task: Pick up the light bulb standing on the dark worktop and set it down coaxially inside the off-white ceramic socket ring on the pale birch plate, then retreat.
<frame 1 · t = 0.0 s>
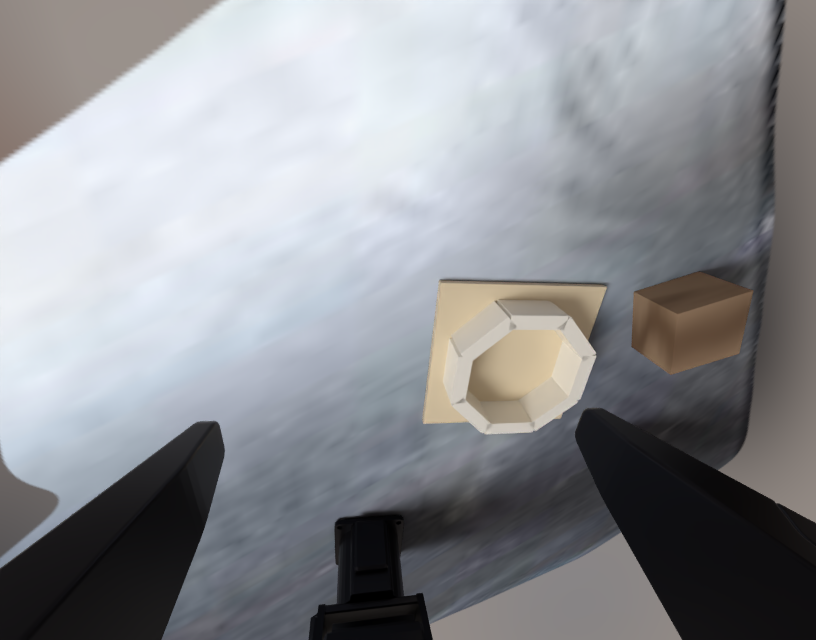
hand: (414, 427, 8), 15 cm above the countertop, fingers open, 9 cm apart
socket: (506, 356, 26), on the countertop
walnut block: (662, 309, 26), on the countertop
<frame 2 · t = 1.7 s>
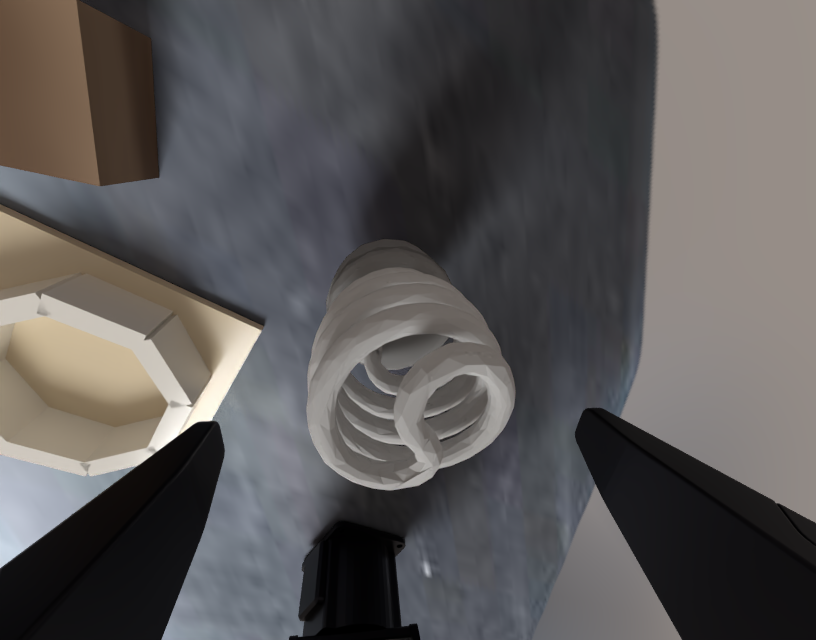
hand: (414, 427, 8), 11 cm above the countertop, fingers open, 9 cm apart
socket: (108, 361, 18), on the countertop
walnut block: (85, 95, 13), on the countertop
light bulb: (384, 272, 18), on the countertop
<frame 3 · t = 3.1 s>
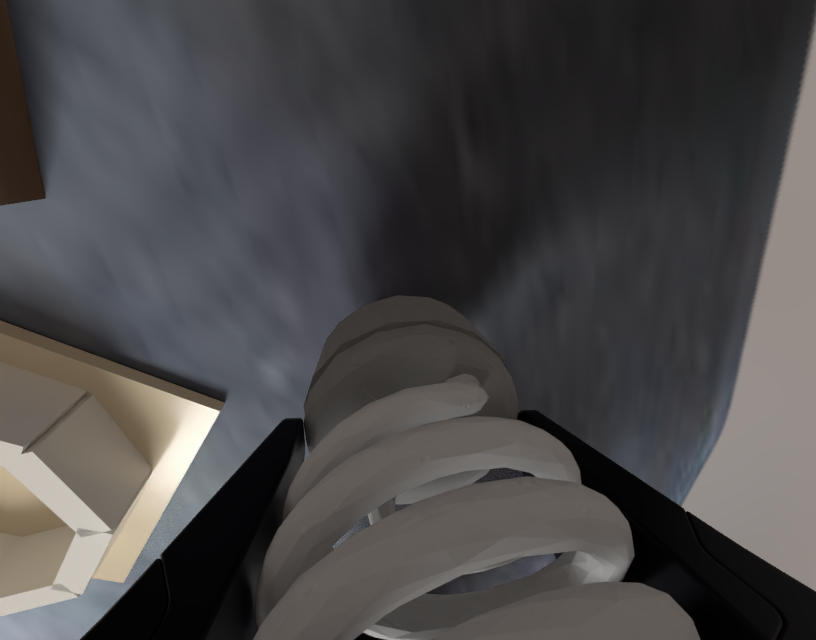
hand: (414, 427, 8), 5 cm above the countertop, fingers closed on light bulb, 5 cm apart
socket: (3, 454, 13), on the countertop
light bulb: (394, 327, 13), on the countertop, touching gripper
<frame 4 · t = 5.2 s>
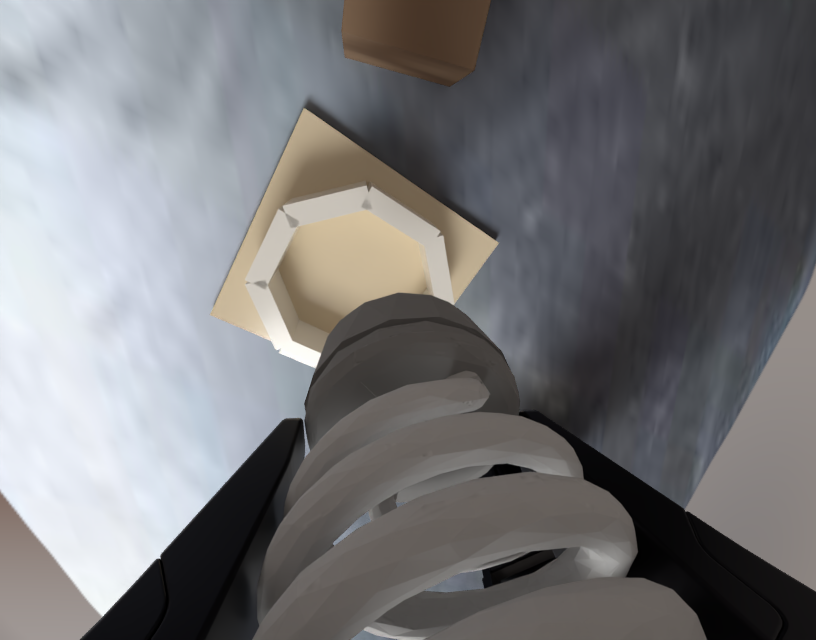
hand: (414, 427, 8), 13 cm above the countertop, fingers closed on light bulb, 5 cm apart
socket: (355, 275, 20), on the countertop
walnut block: (409, 5, 15), on the countertop
light bulb: (394, 326, 13), point 8 cm above the countertop, touching gripper
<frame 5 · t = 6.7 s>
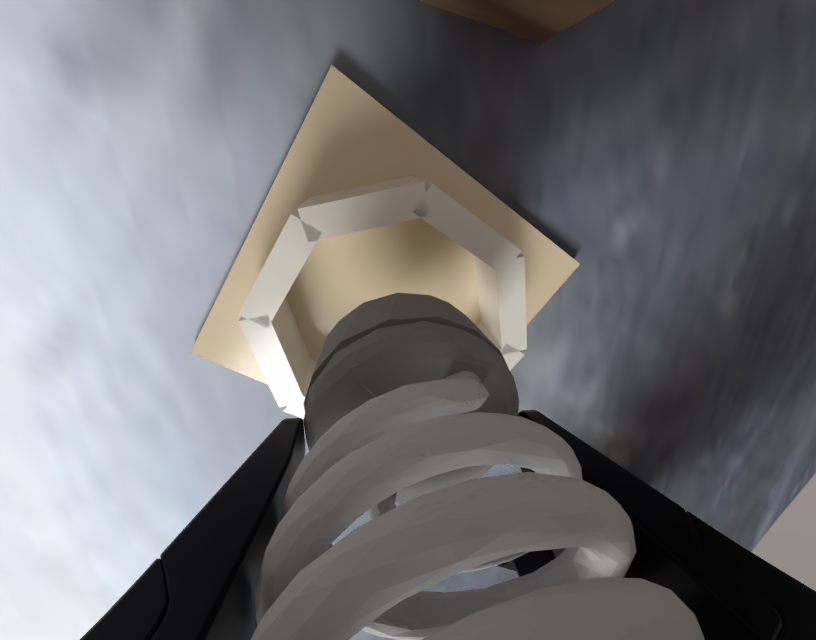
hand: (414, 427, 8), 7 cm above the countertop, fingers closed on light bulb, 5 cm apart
socket: (387, 302, 15), on the countertop
light bulb: (394, 326, 13), point 2 cm above the countertop, touching gripper
when the fingers open (7 cm above the countertop, at t = 7.2 s): light bulb drops 2 cm, resting on socket.
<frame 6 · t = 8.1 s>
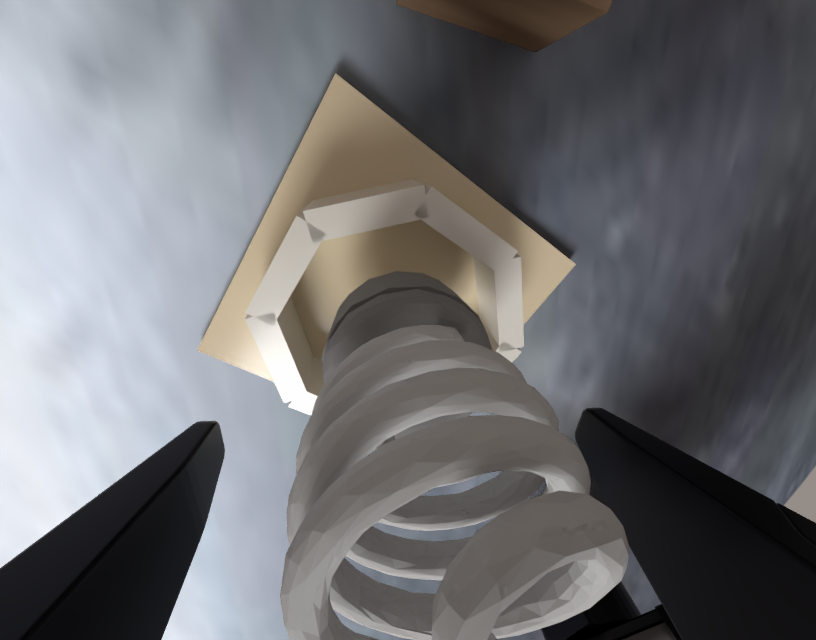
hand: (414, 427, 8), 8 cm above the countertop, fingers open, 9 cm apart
socket: (389, 302, 15), on the countertop
light bulb: (394, 305, 15), resting on socket
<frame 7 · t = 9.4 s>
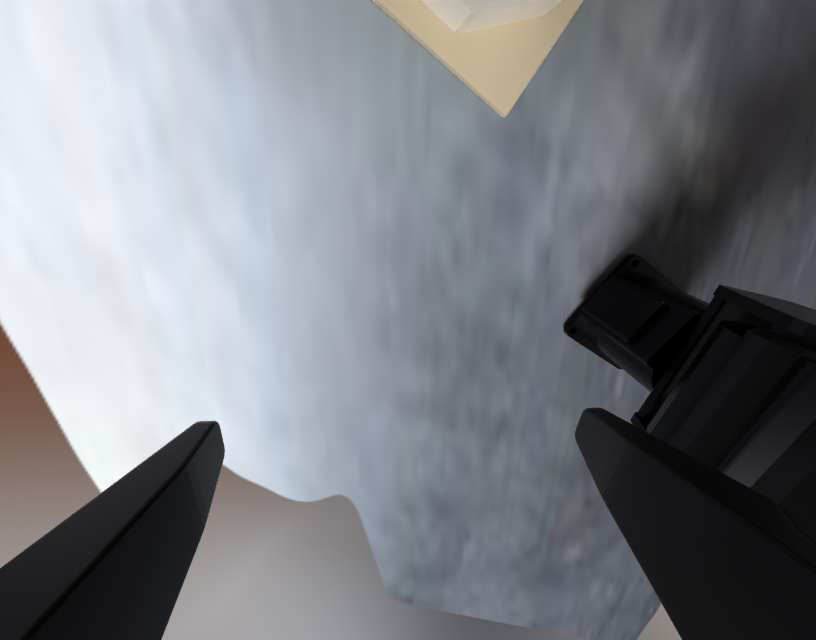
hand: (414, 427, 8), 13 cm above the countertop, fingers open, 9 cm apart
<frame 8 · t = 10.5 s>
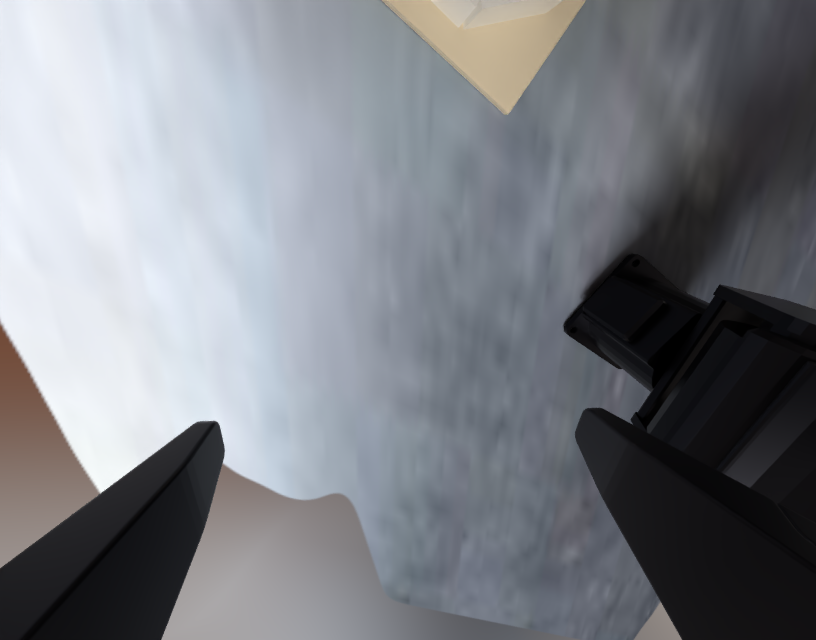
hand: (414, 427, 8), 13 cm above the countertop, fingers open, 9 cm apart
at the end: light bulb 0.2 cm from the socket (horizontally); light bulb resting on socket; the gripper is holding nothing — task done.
